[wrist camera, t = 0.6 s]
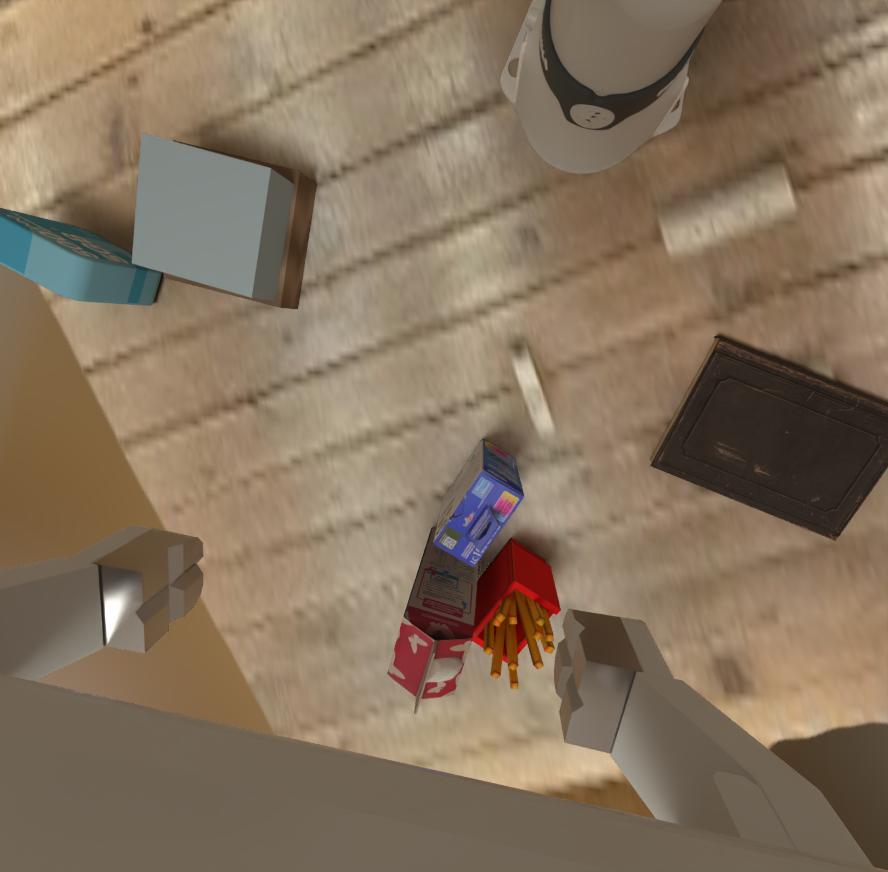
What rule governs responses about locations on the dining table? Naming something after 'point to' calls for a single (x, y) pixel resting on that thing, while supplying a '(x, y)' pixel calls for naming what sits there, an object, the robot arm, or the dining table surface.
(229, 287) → the slate top block
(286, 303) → the walnut base block
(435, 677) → the juice carton
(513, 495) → the ink cartridge box
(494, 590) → the french fries container
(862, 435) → the hardcover book
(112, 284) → the data package
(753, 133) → the dining table surface
